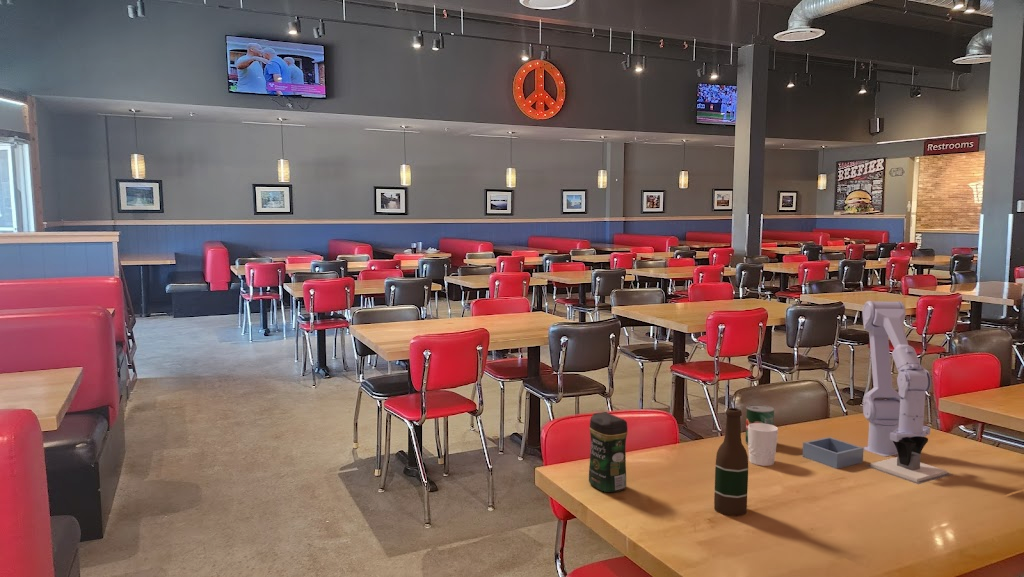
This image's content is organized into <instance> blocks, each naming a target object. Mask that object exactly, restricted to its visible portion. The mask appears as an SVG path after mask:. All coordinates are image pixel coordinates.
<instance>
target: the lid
mask: <svg viewBox="0 0 1024 577" xmlns="http://www.w3.org/2000/svg"><path fill="white" fill-rule="evenodd" d="M896 455H897V456H896V457H891V458H888V459H883V460H879V461H875V462H871V463H870V464H871V465H870V464H869V465H870V466H871V467H874V468H877V469H880V470H883V471H886V472H889V473H892V474H895V475H898V476H901V477H903V478H906V479H909V480H912V481H915V482H919V481H922V480H926V479H930V478H933V477H937V476H940V475H944V474H947V473H948V470H946V469H943V468H940V467H936V466H933V465H930V464H926V463H924V462H921V457H922V454H918V453H915V452H912V453H911V459H910V463H909V465H908V466H906V465H903V464H900V461H899V456H898V454H896Z"/></svg>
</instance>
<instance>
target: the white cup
mask: <svg viewBox="0 0 1024 577" xmlns="http://www.w3.org/2000/svg"><path fill="white" fill-rule="evenodd" d="M778 433H779V428H778V427H777V426H776V425H774V424H773V425H770V424H764V423H752V424H749V425H748V444H747V449H748V450H747V451H748V463H751V464H753V465H756V466H761V467H763V466H764V467H765V466H766V467H770V466H773V465H774V464H775V458H776V454H777V453H776V452H777V444H778V435H779V434H778Z"/></svg>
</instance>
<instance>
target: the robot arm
mask: <svg viewBox="0 0 1024 577" xmlns="http://www.w3.org/2000/svg"><path fill="white" fill-rule="evenodd" d="M861 312H862V323H863V329H864V330H865V331H867V332H868V335H869V337H868V338H869V346H870V347H869V348H870V350H869V351H870V361H871V372H872V375H871V376H872V385H873V387H872V388H871V389H870V390H868V391H867V392H866V393H865V394H864V395H863V405H862V413H863V416H864V418H865V419H866V420H867V421H868V435H867V436H868V437H867V438H868V439H867V446H864V447H862V446H861V447H862V448H864V451H865V452H869V453H871V454H872V453H873V454H876V455H879V456H881V457H885V458H887V457H890V456H895V455H898V456H899V461H900V464H903V465H906V466H908V465H909V463H910V459H911V453H912V452H915V453H918V454H921V453H922V451H923V449H924V447H925V446H926V444H927V443H928V442H929V438H928V437H927V436H928V435H931V427H930V426H926V425H924V421H925V419H924V418H925V408H926V405H925V404H926V392H928V391H930V388H931V386H932V378H931V375H930V372H929V370H928V369H926V368H925V367H924V366H923V365H921V362H920V360H919V357H918V354H917V352H916V349H915V348H914V347H913V346H911V345H909V342H908V338H907V335H906V331H905V327H904V322H905V318H906V314H907V313H906V307H905V304H904V303H903V302H902V301H901V300H897V301H884V300H883V301H881V300H880V301H878V300H877V301H876V300H875V301H874V300H867V301H865V303H864V305H863V308H862V311H861ZM889 340H890V342H891V344H892V346H893V348H894V349H893V350H892V352H891V354H890V343H889ZM891 356H892V358H893V361H894V364H895V366H896V369H897V372H898V373H897V377H896V384H897V388H898V391H897V390H895V389H894V388H893V387H894V386H893V378H892V376H893V375H892V367H891V365H892V364H891ZM921 455H922V454H921Z"/></svg>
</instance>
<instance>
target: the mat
mask: <svg viewBox="0 0 1024 577" xmlns="http://www.w3.org/2000/svg"><path fill="white" fill-rule="evenodd" d="M870 465H871V463H870V464H866V465H865V467H867V468H870V469H873V470H876V471H878V472H882V473H885V474H887V475H891V476H893V477H896V478H899V479H902V480H905V481H908V482H911V483H913V484H916V485H921V484H924V483H927V482H930V481H935V480H939V479H941V478H945V477H950V476H952V475H953V473H950V472H947V474H944V475H940V476H937V477H933V478H930V479H926V480H922V481H919V482H915V481H912V480H909V479H906V478H903V477H901V476H898V475H895V474H892V473H889V472H886V471H883V470H880V469H877V468H874V467H871V466H870Z"/></svg>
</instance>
